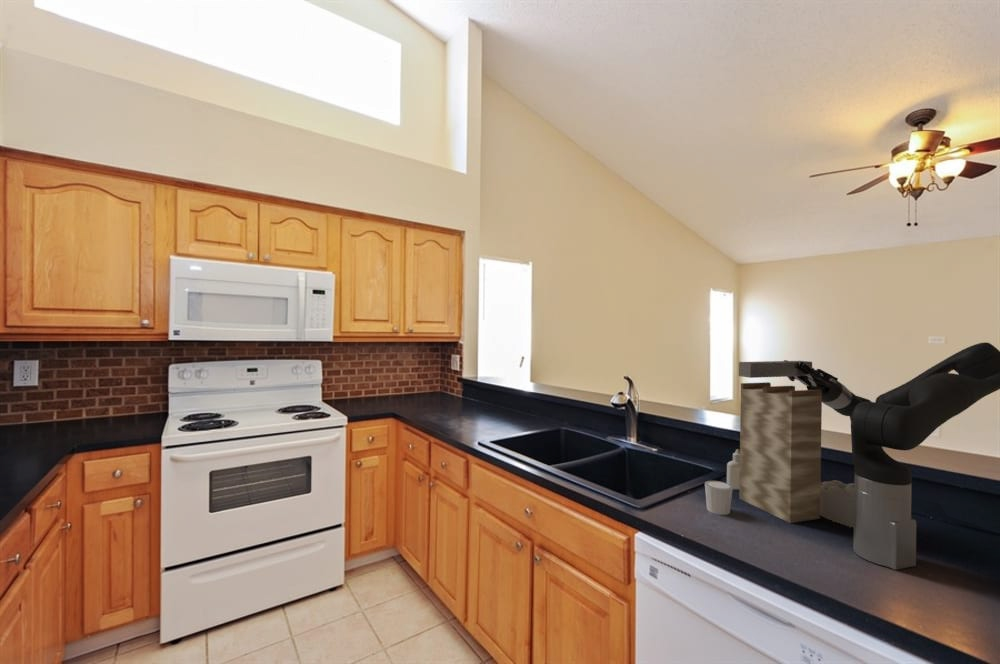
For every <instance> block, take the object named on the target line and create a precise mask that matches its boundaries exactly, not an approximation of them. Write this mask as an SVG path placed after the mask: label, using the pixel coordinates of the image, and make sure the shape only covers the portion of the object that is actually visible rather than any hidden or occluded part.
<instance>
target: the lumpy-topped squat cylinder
mask: <svg viewBox="0 0 1000 664" xmlns="http://www.w3.org/2000/svg"><path fill="white" fill-rule="evenodd" d="M854 483H855V482H852V483H851V482H850V483H847V484H846V483H844V482H842V481H840V480H837V479H836V480H835V479H833V480H830V481H829V480H827V481H821V487H820V517H823V518H824V519H827V520H830V521H831V520H832V521H831V522H834V523H836V522H837V524H839V523H840V524H839V525H842V524H843V525H842V526H844V525H846V526H845V527H847V526H849V527H848V528H851V527H853V528H852V529H854Z"/></svg>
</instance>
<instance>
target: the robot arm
mask: <svg viewBox="0 0 1000 664" xmlns="http://www.w3.org/2000/svg"><path fill="white" fill-rule="evenodd" d="M783 361H789V360H787V359H784V360H783ZM798 361H799V362H798V364H797V369H799V370H800V371H802V372H803V373H804V374H806V375H807V376H788V377H787V378H788V380H789V381H791V382H795V381H796V380H797V381H798V382H800V383H801V384H802V385H803V386H806V390H822V404H824V405H825V406H827V407H830V409H833V410H834V411H835V412H837V413H838V414H839V415H841V416H845V417H849V419H850V437H851V458H852V463H853V466H854V482H853V483H854V528H853V539H852V540H853V546H852V547H853V552H854V553H855V555H857V556H859V557H860V558H862V559H864V560H866V561H869V562H870V563H874V564H877V565H880V566H884V567H887V568H890V569H892V570H895V571H897V570H900V569H901V570H902V569H907V568H910V567H911V568H912V567H916V565H917V521H916V520H915V519H913V518H912V484H913V483H912V480H913V479H912V478H913V473H912V470H911V469H910V468H909V467H908V466H906V465H904V464H903V463H901V462H900V461H897V460H896V459H894V458H893V457H891V456H890V455H889V454H888V453H887V452H886V451H885V450H884V448H887V449H892V450H898V451H911V450H913V449H915V448H917V447H919V445H921V444H922V443H923V442H924V441H925V440H927V438H928V437H929V436H930V435H931V434H932V433H934V431H936V430H937V429H939V427H941V426H942V425H944V424H945V423H946V422H947V421H949V420H951V419H952V418H954V417H956V416H958V415H960V414H961V413H963V412H964V411H966V410H967V409H969V408H970V407H972V406H973V405H974V404H975V403H977V402H978V401H980V400H981V399H983V398H985V397H987V396H989V395H990V394H993V393H995V392H996V391H999V390H1000V350H999V349H998V347H996V346H995V345H993V344H992V343H990V342H979V343H975V344H973V345H969V346H968V347H965V348H963V349H962V350H960V351H958V352H955V353H954V354H952V355H950V356H949V357H947V358H945V359H943V360H941V361H940V362H938V363H936V364H934V365H933V366H932V367H930V368H928V369H926V370H925V371H923V372H921V373H920V374H918V375H917V376H915V377H913V378H912V379H911V380H909V381H906V382H905V383H903V384H900V385H899V386H897V387H895V388H893V389H890V390H888V391H886V392H884V393H882V394H880V395H878V396H877V397H876V398H875V401H871V400H870V399H868V398H865V397H862V396H859V395H856V394H855V393H854V392H852V391H851V390H849V389H848V388H847V387H846V386H845V385H844V384H843V383H841V382H840V381H839V378H838V377H836V376H834V375H832V374H830V373H829V372H826V371H824V370H822V369H820V368H816V369H815V368H814V367H813V366H812V367H809V366H807V365H806V364H805V363H803V362H801V361H802V360H798ZM952 371H955V372H956V373H951V372H952Z"/></svg>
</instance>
